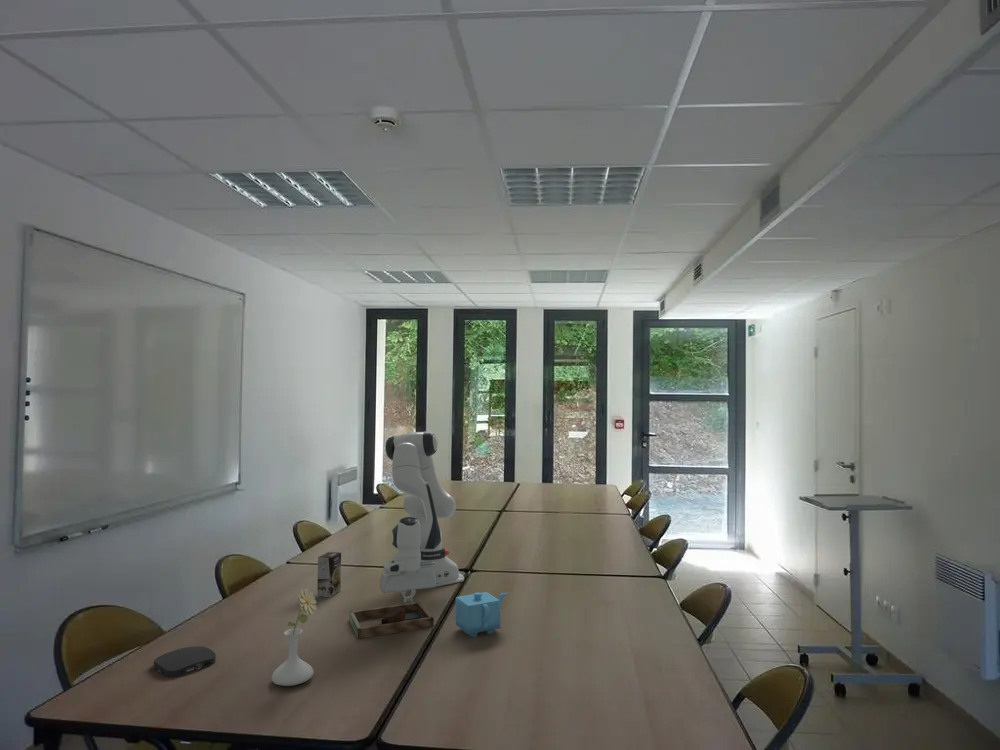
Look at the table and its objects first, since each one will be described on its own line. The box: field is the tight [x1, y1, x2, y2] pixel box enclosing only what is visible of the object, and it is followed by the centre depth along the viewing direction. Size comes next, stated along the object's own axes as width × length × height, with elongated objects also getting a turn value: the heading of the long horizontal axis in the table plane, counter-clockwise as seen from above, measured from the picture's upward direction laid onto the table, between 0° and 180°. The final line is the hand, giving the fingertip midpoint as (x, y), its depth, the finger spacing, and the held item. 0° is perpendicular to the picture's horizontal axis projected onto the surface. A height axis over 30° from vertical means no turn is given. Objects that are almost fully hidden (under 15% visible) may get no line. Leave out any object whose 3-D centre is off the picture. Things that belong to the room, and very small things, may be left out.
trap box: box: [348, 601, 435, 639], centre depth 214 cm, size 26×18×3 cm
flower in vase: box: [270, 588, 318, 687], centre depth 171 cm, size 13×11×25 cm
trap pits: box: [404, 611, 422, 621], centre depth 217 cm, size 6×14×1 cm, turn 23°
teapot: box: [455, 591, 509, 638], centre depth 208 cm, size 18×16×13 cm
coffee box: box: [316, 551, 342, 598], centre depth 247 cm, size 9×6×16 cm
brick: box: [380, 607, 405, 625], centre depth 213 cm, size 11×4×5 cm, turn 161°
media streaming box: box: [153, 645, 216, 678], centre depth 181 cm, size 15×15×3 cm
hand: (408, 602), depth 216 cm, fingers closed
